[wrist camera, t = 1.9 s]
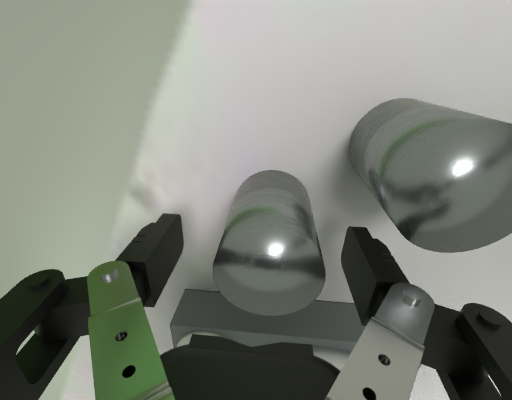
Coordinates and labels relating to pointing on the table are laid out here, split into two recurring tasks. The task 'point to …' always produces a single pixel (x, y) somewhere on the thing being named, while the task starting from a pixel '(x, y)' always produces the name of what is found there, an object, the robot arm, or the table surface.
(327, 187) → the table surface
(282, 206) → the cylinder
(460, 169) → the cylinder
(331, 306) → the scale
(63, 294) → the robot arm
